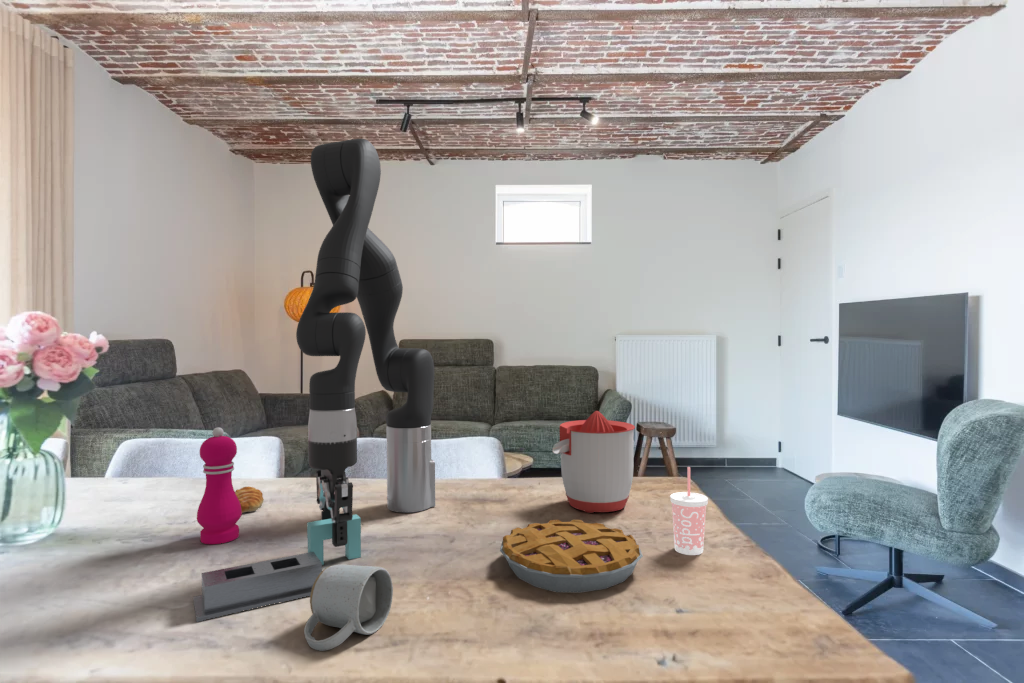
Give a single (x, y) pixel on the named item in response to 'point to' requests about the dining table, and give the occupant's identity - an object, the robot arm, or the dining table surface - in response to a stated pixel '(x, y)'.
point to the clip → (323, 531)
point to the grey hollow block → (256, 585)
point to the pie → (571, 555)
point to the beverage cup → (688, 520)
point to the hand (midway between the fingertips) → (334, 538)
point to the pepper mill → (218, 491)
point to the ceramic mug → (349, 602)
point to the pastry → (249, 498)
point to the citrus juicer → (596, 463)
